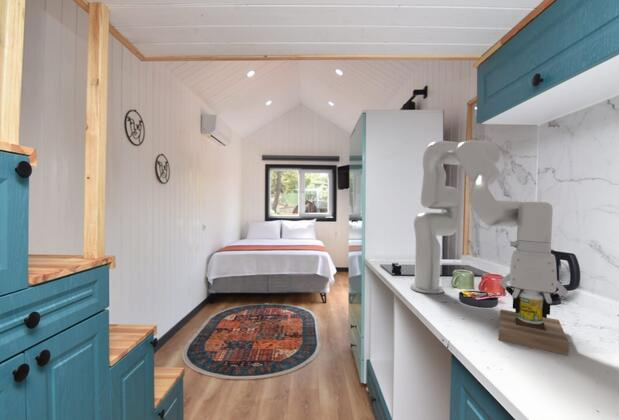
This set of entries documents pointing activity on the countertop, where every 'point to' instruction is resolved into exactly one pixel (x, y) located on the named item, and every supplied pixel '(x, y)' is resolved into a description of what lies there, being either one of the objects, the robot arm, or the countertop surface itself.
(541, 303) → the supplement bottle
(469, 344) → the countertop surface
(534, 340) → the bottle caddy
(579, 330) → the countertop surface
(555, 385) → the countertop surface
